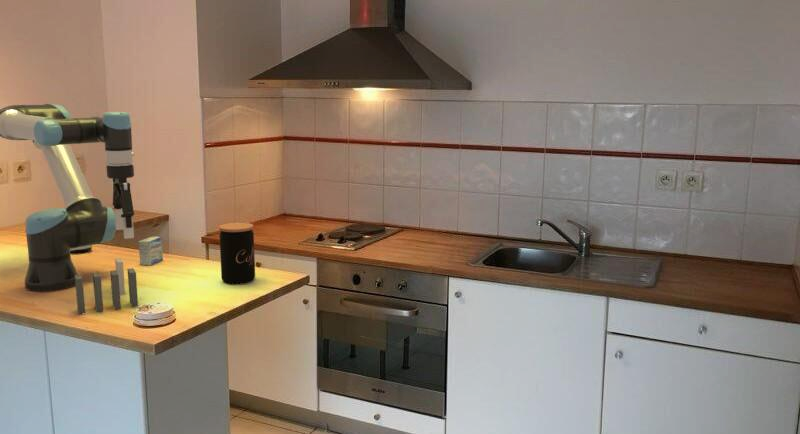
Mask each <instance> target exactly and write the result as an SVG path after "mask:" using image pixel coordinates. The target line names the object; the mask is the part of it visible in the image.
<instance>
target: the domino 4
mask: <svg viewBox="0 0 800 434" xmlns="http://www.w3.org/2000/svg"><path fill="white" fill-rule="evenodd" d="M109 272H110V273H109V274H110V276H109V277H110V284H111V285H110V286H111V287H110V288H111V298H112V305H113V308H114V310H121V309H122V302H121V295H120V289H119V276H118V273H117V271H116V269H115V270H110V271H109Z"/></svg>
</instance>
